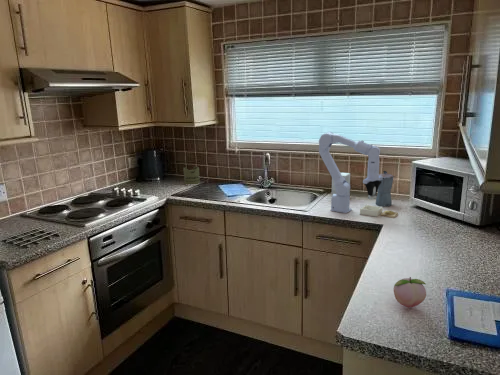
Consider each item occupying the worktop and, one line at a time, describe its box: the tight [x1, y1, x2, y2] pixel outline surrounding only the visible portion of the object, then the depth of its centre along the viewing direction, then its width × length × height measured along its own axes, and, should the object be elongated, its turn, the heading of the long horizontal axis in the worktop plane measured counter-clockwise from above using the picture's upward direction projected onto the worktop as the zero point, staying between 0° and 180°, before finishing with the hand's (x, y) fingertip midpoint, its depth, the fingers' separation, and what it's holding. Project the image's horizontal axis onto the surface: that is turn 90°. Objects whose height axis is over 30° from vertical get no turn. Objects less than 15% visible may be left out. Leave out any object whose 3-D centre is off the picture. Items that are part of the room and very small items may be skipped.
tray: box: [359, 204, 384, 218], centre depth 207 cm, size 9×9×3 cm
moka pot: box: [375, 170, 395, 208], centre depth 220 cm, size 10×15×20 cm, turn 158°
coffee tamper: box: [367, 186, 377, 200], centre depth 204 cm, size 4×4×6 cm
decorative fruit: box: [393, 276, 427, 309], centre depth 117 cm, size 9×8×10 cm
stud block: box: [379, 210, 399, 219], centre depth 203 cm, size 7×7×2 cm
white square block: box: [331, 172, 351, 196], centre depth 238 cm, size 9×9×15 cm
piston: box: [183, 166, 201, 185], centre depth 286 cm, size 11×12×11 cm
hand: (372, 194), depth 204 cm, fingers closed on coffee tamper, 3 cm apart
